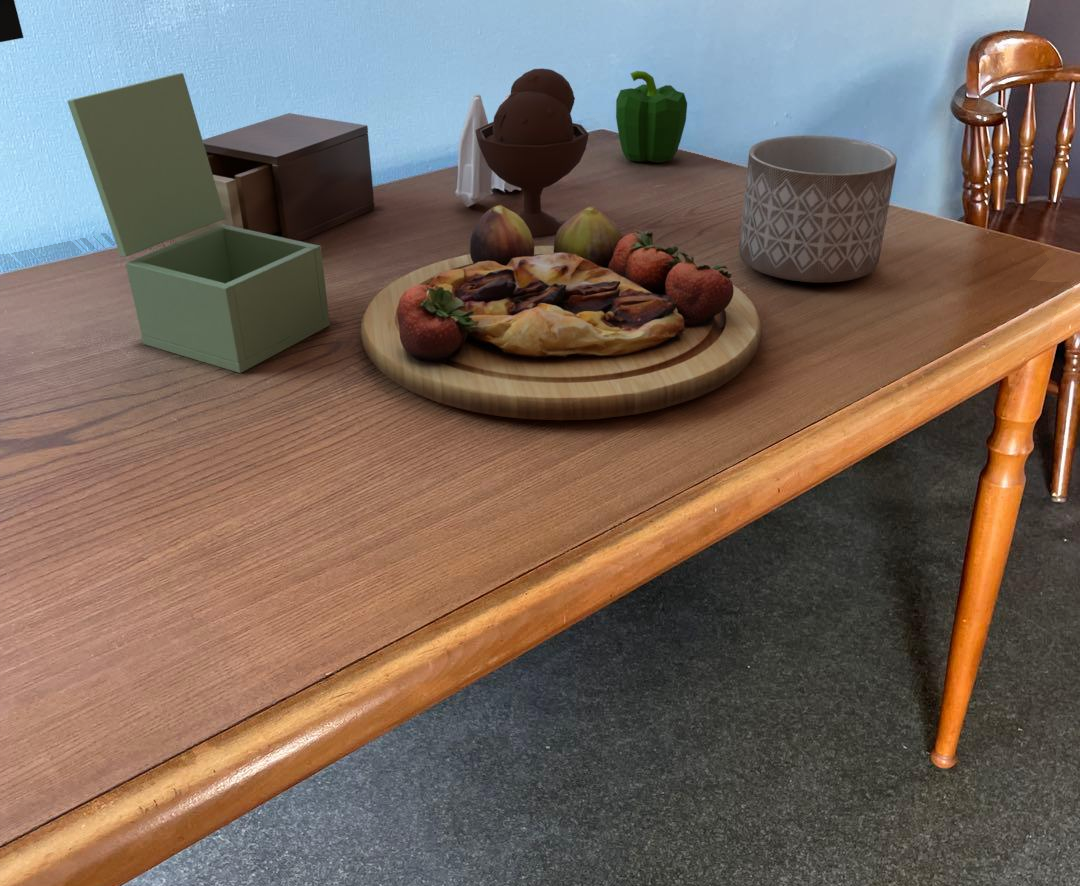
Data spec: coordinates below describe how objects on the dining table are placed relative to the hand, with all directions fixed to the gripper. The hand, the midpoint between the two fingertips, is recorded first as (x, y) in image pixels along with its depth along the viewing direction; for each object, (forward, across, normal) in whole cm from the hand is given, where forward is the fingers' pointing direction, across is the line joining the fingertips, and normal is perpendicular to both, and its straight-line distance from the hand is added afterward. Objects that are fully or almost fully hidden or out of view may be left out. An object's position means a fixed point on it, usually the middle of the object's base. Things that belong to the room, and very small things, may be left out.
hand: (3, 39), depth 87 cm
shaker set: (+21, -19, -41) cm, 50 cm away
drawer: (+20, -5, -16) cm, 26 cm away
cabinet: (+21, -5, -25) cm, 33 cm away
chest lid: (+8, -15, 0) cm, 17 cm away
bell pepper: (+21, -27, -64) cm, 72 cm away
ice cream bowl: (+21, -28, -35) cm, 49 cm away
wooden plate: (+21, -44, -13) cm, 50 cm away
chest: (+21, -21, 0) cm, 29 cm away
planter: (+21, -56, -38) cm, 71 cm away
